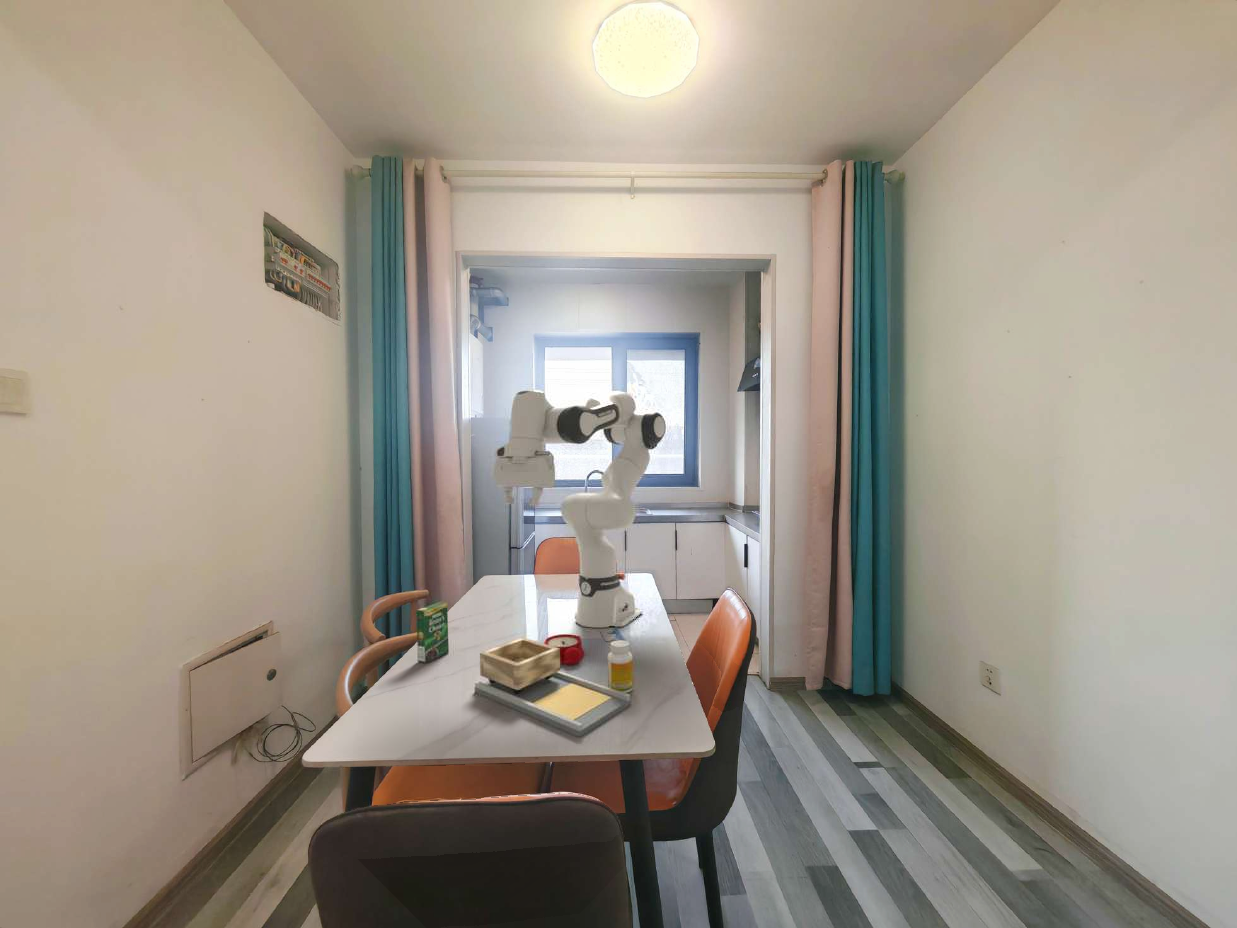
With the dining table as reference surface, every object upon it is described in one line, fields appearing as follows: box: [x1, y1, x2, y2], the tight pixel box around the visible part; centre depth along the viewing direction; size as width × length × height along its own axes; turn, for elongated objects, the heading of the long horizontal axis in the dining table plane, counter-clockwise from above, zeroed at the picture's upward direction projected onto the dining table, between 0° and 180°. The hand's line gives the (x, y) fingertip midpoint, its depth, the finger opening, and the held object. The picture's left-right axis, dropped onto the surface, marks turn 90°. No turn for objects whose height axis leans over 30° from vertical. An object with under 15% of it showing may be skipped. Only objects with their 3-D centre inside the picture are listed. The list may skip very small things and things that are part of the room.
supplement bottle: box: [607, 639, 634, 694], centre depth 108 cm, size 5×5×10 cm
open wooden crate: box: [479, 637, 561, 694], centre depth 110 cm, size 12×12×6 cm
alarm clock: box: [543, 633, 585, 666], centre depth 126 cm, size 10×6×15 cm
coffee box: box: [415, 601, 450, 664], centre depth 127 cm, size 8×3×13 cm, turn 154°
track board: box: [474, 670, 631, 738], centre depth 104 cm, size 15×30×2 cm, turn 52°
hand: (521, 505), depth 130 cm, fingers open, 8 cm apart
